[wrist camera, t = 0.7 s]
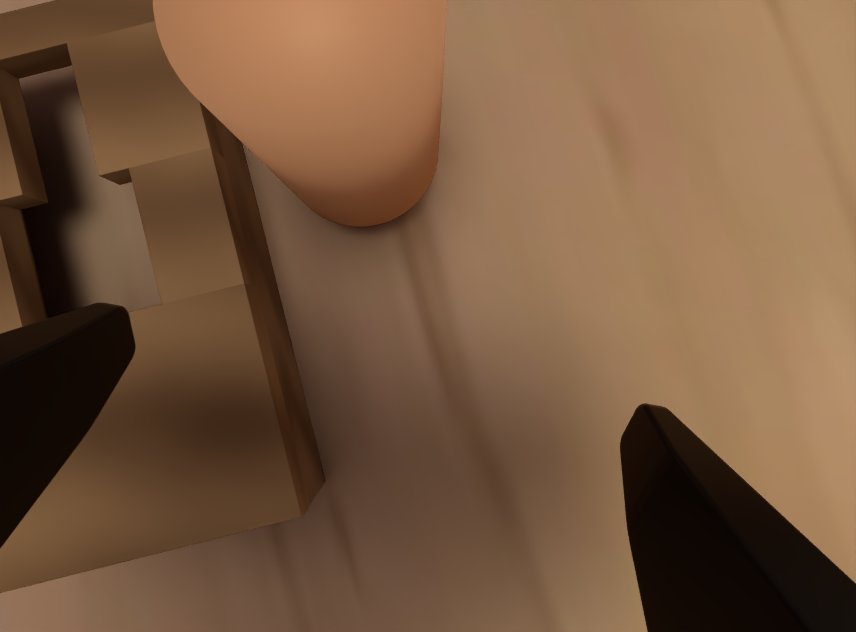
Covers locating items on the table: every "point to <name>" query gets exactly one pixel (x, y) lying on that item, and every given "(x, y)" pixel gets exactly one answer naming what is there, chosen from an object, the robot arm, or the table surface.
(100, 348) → the robot arm
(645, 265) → the table surface
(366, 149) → the terracotta peg
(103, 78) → the walnut keyhole board
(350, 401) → the table surface
